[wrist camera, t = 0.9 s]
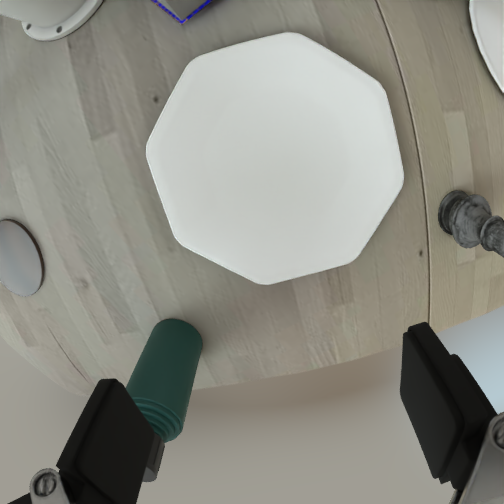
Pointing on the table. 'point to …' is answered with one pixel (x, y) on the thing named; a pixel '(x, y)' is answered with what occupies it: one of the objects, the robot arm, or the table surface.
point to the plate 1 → (275, 158)
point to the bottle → (166, 376)
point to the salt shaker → (471, 222)
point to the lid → (19, 259)
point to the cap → (154, 459)
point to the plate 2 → (490, 35)
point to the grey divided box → (181, 8)
